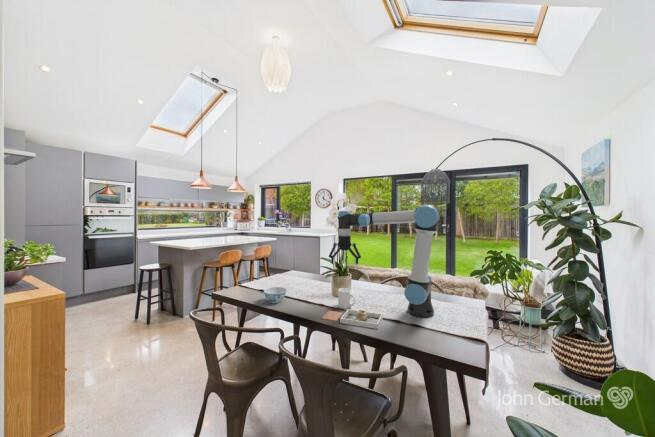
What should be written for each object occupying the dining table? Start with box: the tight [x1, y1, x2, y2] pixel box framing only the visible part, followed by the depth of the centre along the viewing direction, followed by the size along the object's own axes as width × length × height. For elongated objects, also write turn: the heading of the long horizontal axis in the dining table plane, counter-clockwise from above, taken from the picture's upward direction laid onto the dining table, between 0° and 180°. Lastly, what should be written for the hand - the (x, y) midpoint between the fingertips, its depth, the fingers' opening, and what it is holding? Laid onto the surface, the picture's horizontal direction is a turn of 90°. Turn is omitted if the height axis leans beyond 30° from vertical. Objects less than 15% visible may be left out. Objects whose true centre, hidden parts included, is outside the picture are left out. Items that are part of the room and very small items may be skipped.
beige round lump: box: [355, 309, 368, 322], centre depth 152 cm, size 5×5×5 cm
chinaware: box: [263, 286, 287, 304], centre depth 183 cm, size 15×15×8 cm
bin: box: [339, 308, 384, 330], centre depth 153 cm, size 21×15×2 cm
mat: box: [321, 310, 344, 322], centre depth 159 cm, size 9×12×1 cm
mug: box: [337, 287, 356, 309], centre depth 173 cm, size 9×12×11 cm
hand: (344, 269), depth 171 cm, fingers open, 13 cm apart
